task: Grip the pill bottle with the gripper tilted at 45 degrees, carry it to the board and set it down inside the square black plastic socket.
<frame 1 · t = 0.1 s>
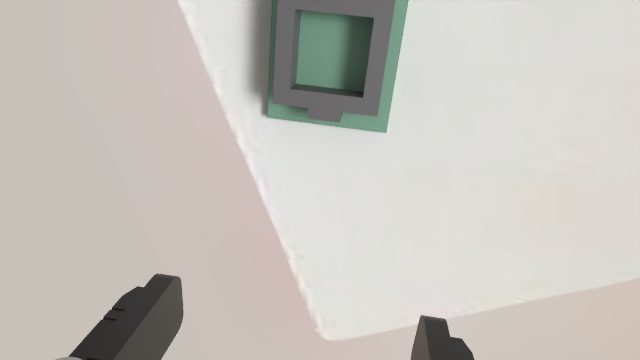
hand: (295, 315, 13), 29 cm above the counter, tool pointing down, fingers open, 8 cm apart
socket board: (334, 51, 38), on the counter
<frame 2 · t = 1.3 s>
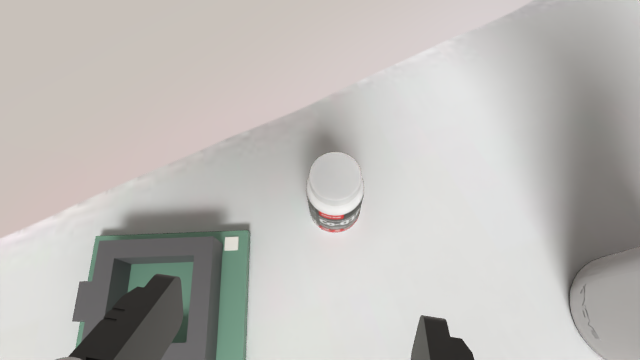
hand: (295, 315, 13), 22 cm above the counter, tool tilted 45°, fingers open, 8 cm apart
pill bottle: (334, 209, 38), on the counter
socket board: (168, 302, 35), on the counter
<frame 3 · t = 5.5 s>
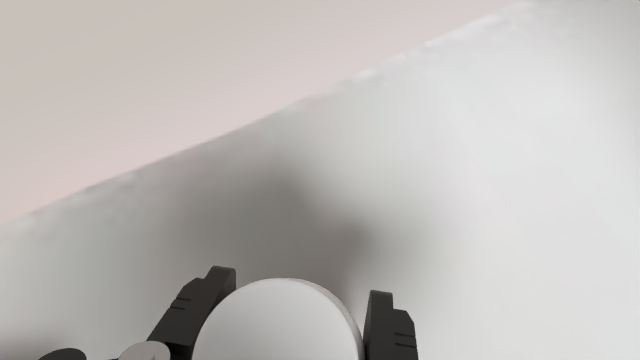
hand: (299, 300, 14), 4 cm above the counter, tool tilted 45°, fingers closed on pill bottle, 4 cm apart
pill bottle: (300, 353, 17), on the counter, touching gripper
when the fingers open (6 cm above the counter, at t = 10.5 s): pill bottle stays where it is, resting on socket board.
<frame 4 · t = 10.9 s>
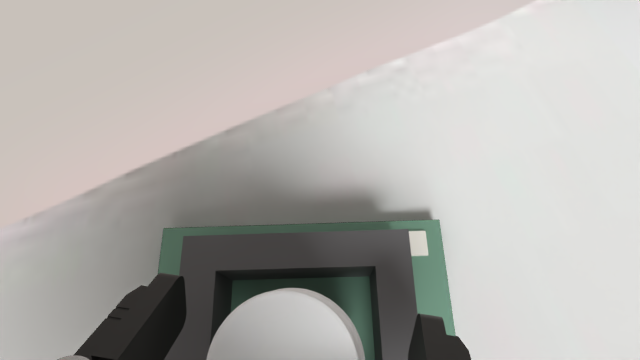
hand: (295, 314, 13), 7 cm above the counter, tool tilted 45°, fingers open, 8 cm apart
pill bottle: (303, 357, 18), point 1 cm above the counter, touching socket board
socket board: (302, 352, 19), on the counter
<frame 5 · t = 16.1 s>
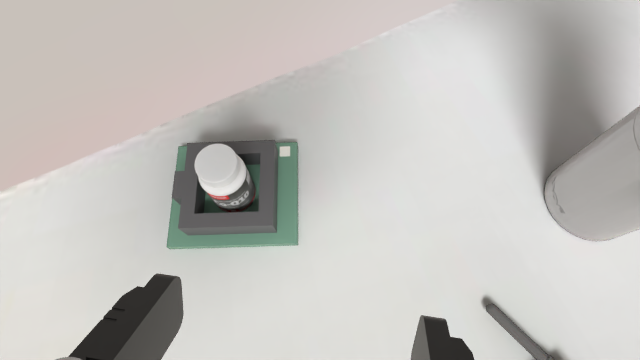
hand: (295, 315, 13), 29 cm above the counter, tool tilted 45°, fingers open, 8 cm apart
pill bottle: (236, 194, 45), point 1 cm above the counter, touching socket board
socket board: (236, 195, 45), on the counter
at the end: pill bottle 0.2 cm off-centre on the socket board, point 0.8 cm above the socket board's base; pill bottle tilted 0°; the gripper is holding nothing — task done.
